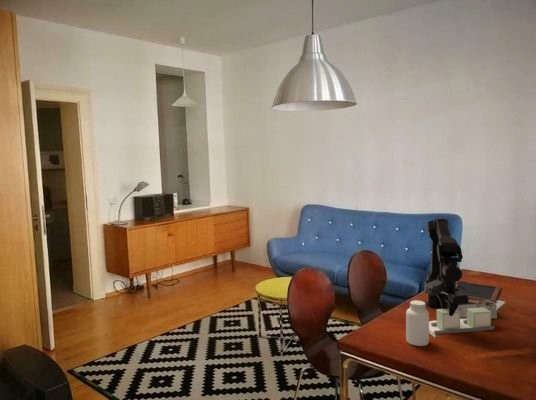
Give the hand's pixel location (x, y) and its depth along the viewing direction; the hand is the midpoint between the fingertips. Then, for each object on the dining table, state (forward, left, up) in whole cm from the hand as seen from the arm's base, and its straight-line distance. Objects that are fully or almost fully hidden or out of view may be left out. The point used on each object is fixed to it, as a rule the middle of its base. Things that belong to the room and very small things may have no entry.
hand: (447, 313), depth 162 cm
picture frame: (-41, +38, -8) cm, 57 cm away
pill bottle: (+6, -15, -8) cm, 18 cm away
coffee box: (-10, +26, -4) cm, 28 cm away
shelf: (-2, +5, -8) cm, 9 cm away
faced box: (0, +13, -6) cm, 14 cm away
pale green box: (0, 0, -5) cm, 5 cm away
